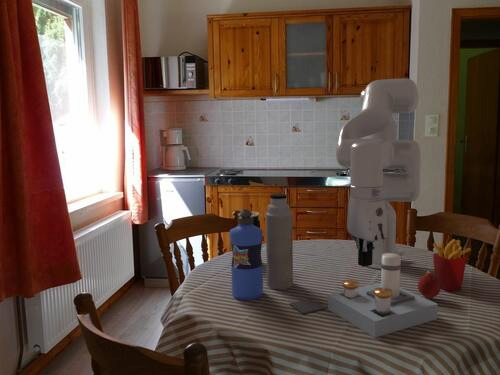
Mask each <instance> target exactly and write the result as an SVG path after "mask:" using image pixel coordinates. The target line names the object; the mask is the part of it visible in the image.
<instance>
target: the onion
mask: <svg viewBox="0 0 500 375" xmlns="http://www.w3.org/2000/svg"><path fill="white" fill-rule="evenodd" d="M417 289H418V292H419V293H420V294H421V295H422V297H423V298H425V299H428V300H432V299H434V298H435V297H436V296H438V295H439V294H440V293H441V290H442V289H441V288H440V283H439V280H438V279H437V278H436V277H435V274H434V275H433V274H432V273H431V271H429V270H428V271H426V274H424V275H422V276H421V277H420V278H419V280H418V281H417Z"/></svg>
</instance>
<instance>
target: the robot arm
mask: <svg viewBox="0 0 500 375" xmlns="http://www.w3.org/2000/svg"><path fill="white" fill-rule="evenodd" d="M418 90H419V89H418V87H417V84H416V82H415V81H414V80H412V79H410V78H390V79H389V78H388V79H387V78H386V79H377V80H373V81H371V82H370V83H368V84H367V85H366V87H365V89H362V91H361V92H360V96H359V98H360V104H361V110H360V112H359V113H358V114H356V115H355V116H353V117H352V118H351V119H350V120H347V122H345V124H344V125H343V126H342V128H341V130H340V132H339V135H338V140H337V144H336V151H335V158H336V161H337V163H338V165H339V166H340V167H343V168H350V170H349V171H350V172H349V173H350V183H349V184H350V185H349V188H350V189H349V190H350V191H349V192H350V193H349V199H348V207H347V208H348V209H347V216H346V217H347V219H346V220H347V221H346V222H347V232H348V233H349V237H350V238H351V239H352V240H354V242H355V244H356V249H357V257H358V258H357V265H358V266H360V267H362V268H363V267H368V268H371V269H376V270H377V269H378V270H381V262H382V254H386V253H393V254H398V255H400V256H401V257H402V256H405V255H406V251H405V249H400V250H397V248H396V236H397V235H396V234H397V233H396V232H397V231H396V230H397V214H396V213H397V212H396V211H395V209H394V207H393V206H392V205H391V204H390V202H406V203H408V202H409V203H412V202H416V201H417V200H418V199H419V196H420V191H421V190H420V189H421V161H422V160H421V159H422V158H421V148H420V145H419V143H418V142H417V141H416V140H413V139H398V138H397V134H398V133H397V130H398V126H397V123H396V120H395V119H394V118H393V114H410V113H411V114H412V113H414V112H415V111H416V110H417V108H418V105H419V91H418ZM365 137H369V138H365ZM384 169H389V170H391V169H393V170H396V169H397V170H404V171H405V172H388V171H387V172H385V171H384V172H383V170H384Z"/></svg>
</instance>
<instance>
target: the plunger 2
mask: <svg viewBox="0 0 500 375" xmlns="http://www.w3.org/2000/svg"><path fill="white" fill-rule="evenodd" d="M374 294H375V314H377V315H379V316H380V317H385V316H389V315H391V296H392V290H391V289H388V288H375V289H374Z"/></svg>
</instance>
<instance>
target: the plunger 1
mask: <svg viewBox="0 0 500 375" xmlns="http://www.w3.org/2000/svg"><path fill="white" fill-rule="evenodd" d="M341 283H342V287H343V291H344V297H345V298H347V299H349V300H350V299H354V298H358V288H360V282H359V281H357V280H355V279H345V280H343V281H342V282H341Z"/></svg>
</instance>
